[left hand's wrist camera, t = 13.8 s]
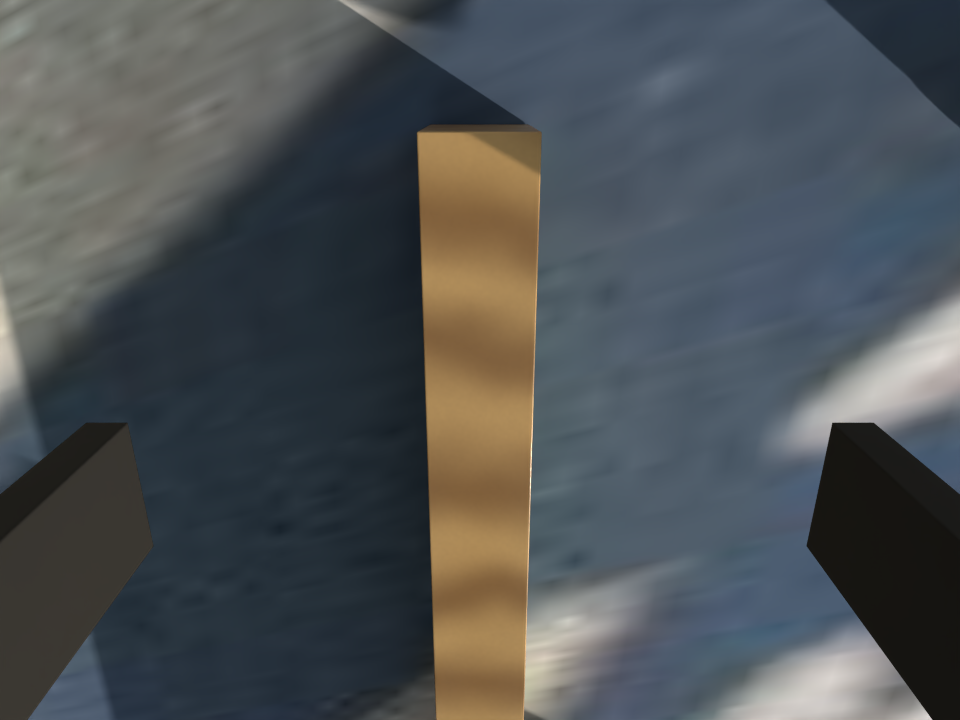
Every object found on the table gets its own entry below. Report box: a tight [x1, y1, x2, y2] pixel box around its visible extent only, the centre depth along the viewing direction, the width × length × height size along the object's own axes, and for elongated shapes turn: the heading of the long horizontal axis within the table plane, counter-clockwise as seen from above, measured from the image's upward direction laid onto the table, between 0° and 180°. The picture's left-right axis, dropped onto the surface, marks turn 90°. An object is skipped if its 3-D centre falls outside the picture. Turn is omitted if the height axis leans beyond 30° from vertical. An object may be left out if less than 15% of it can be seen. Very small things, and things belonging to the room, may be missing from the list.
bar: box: [417, 124, 542, 720], centre depth 41 cm, size 57×5×8 cm, turn 0°
